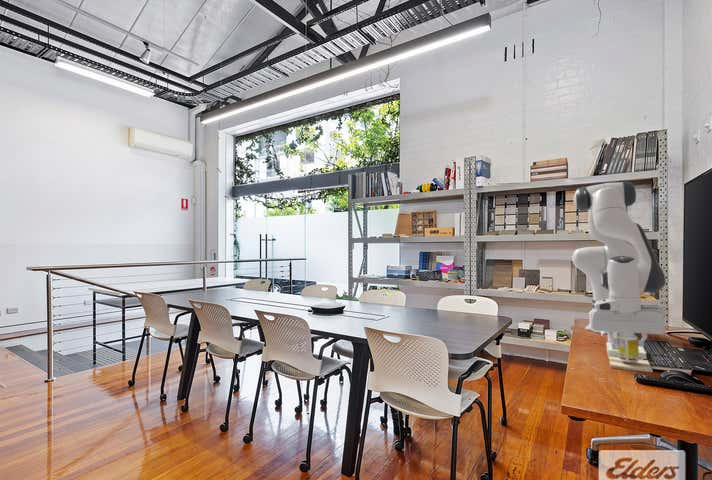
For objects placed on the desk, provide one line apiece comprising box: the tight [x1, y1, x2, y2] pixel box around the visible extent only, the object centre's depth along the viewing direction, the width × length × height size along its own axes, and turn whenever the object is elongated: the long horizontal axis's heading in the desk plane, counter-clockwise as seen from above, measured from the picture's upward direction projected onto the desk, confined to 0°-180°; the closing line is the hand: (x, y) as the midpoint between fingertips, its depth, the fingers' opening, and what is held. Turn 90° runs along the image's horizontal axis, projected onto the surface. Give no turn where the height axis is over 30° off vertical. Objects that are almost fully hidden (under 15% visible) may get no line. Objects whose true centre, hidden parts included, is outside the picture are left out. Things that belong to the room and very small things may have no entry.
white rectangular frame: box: [606, 342, 648, 360], centre depth 136 cm, size 11×11×2 cm
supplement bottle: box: [617, 331, 639, 362], centre depth 125 cm, size 6×6×10 cm
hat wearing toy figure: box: [600, 331, 619, 343], centre depth 149 cm, size 9×4×12 cm, turn 66°
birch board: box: [608, 357, 653, 373], centre depth 125 cm, size 11×11×1 cm
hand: (627, 345), depth 125 cm, fingers closed on supplement bottle, 6 cm apart
